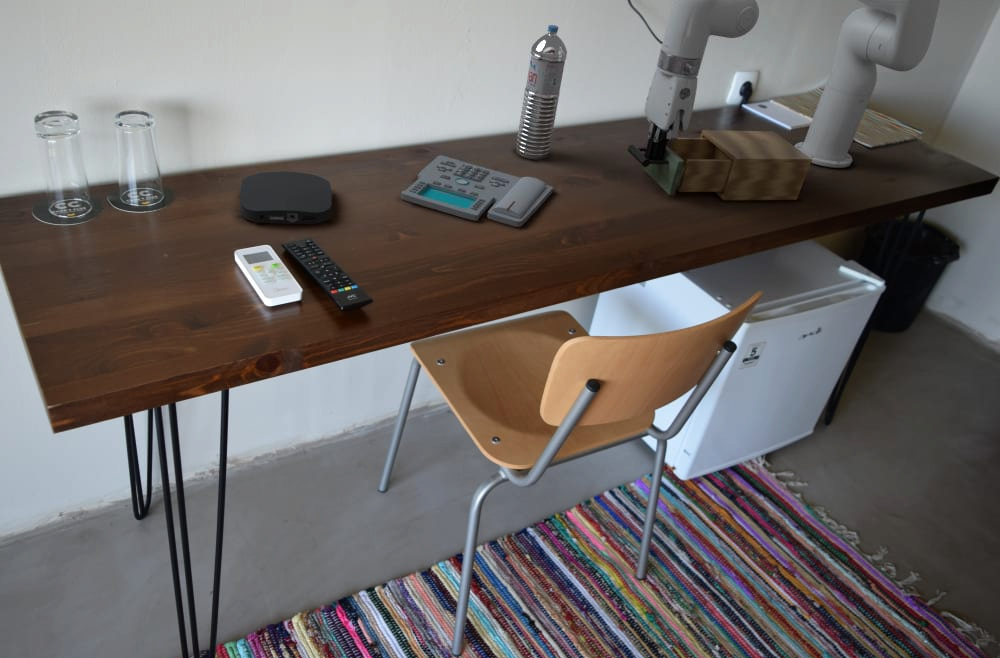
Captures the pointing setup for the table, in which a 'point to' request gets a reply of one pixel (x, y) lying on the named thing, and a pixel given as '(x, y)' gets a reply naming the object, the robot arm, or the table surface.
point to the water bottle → (541, 96)
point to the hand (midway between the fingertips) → (652, 159)
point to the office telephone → (477, 192)
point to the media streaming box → (286, 198)
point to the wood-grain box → (760, 165)
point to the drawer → (687, 166)
